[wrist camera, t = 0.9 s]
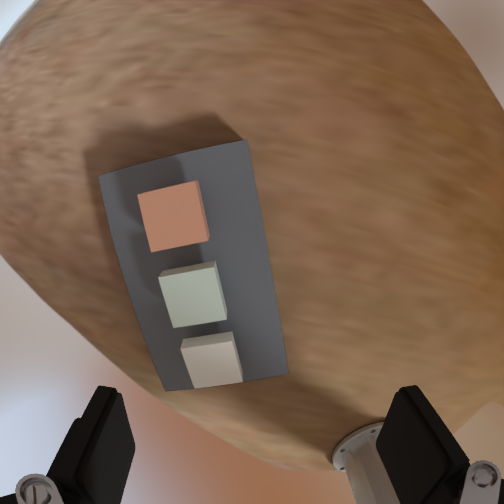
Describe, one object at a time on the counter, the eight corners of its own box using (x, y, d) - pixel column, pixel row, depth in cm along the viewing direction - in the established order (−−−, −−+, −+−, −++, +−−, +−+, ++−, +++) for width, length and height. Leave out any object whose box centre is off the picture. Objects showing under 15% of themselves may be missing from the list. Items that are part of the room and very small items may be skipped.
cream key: (242, 371, 30) (242, 382, 29) (196, 377, 30) (194, 388, 29) (232, 331, 29) (232, 341, 27) (183, 338, 29) (180, 348, 27)
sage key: (227, 310, 29) (226, 319, 27) (176, 318, 29) (173, 328, 27) (215, 260, 27) (214, 267, 26) (162, 270, 27) (158, 277, 26)
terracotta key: (209, 236, 27) (208, 240, 25) (156, 246, 27) (151, 252, 25) (198, 179, 25) (195, 180, 24) (143, 192, 25) (137, 194, 24)
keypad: (285, 358, 35) (288, 373, 33) (169, 376, 36) (165, 391, 33) (246, 142, 29) (247, 139, 26) (109, 174, 29) (97, 176, 26)
